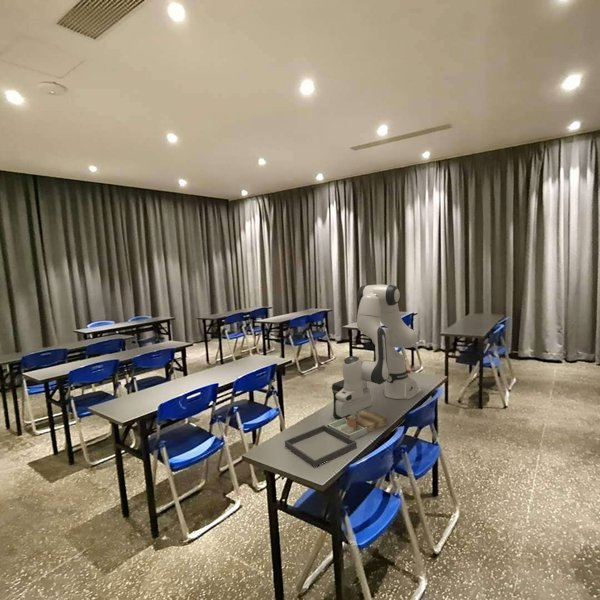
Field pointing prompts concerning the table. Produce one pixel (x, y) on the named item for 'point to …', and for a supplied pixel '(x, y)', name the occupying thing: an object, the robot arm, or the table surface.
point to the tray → (354, 435)
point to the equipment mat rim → (327, 457)
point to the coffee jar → (335, 388)
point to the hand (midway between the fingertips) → (355, 419)
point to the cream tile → (347, 429)
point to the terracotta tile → (352, 423)
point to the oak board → (370, 420)
